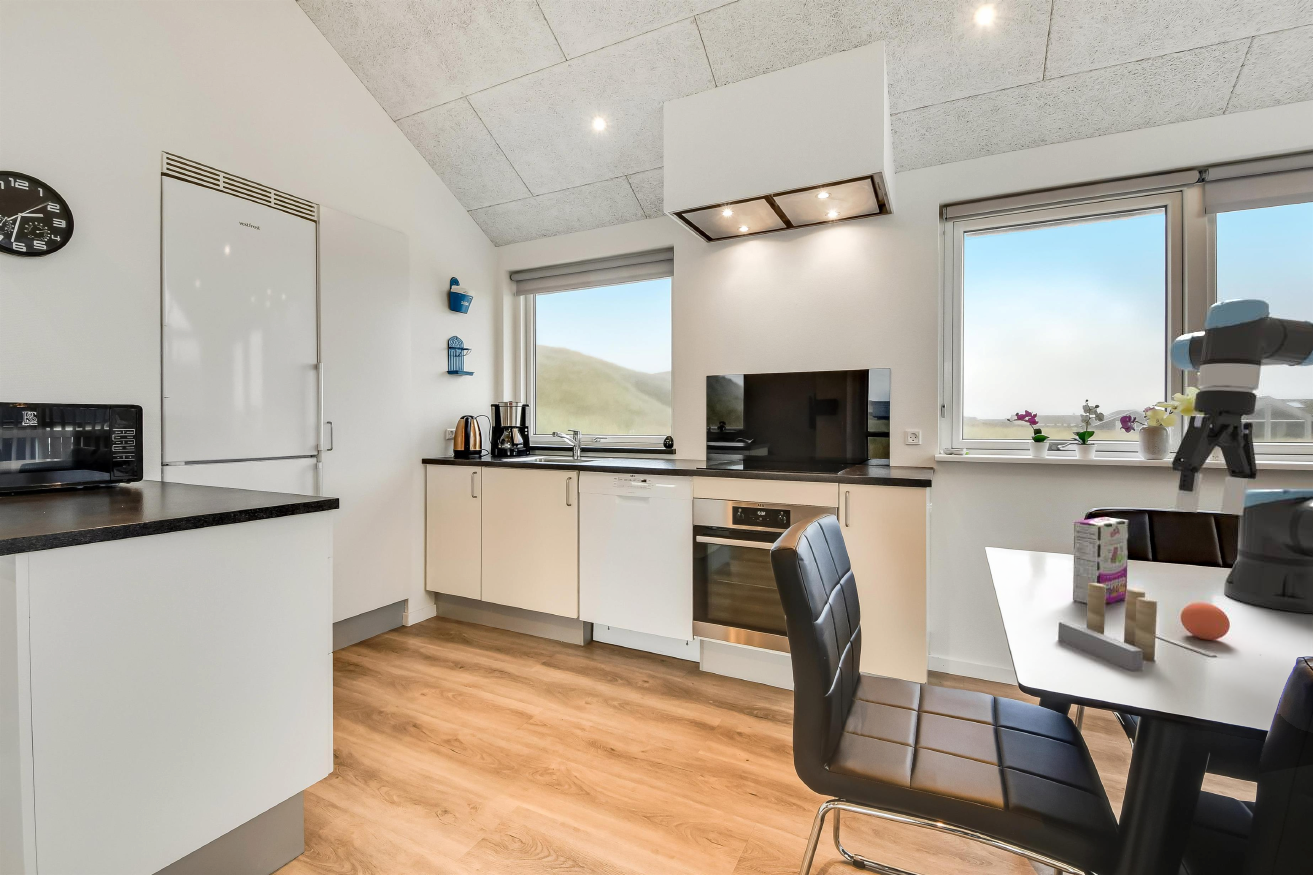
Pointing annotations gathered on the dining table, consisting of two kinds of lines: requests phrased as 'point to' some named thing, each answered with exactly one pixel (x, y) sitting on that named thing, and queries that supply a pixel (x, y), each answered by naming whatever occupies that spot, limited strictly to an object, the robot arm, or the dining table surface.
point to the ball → (1205, 621)
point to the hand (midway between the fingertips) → (1209, 512)
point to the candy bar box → (1100, 557)
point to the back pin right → (1096, 607)
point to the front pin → (1131, 614)
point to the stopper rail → (1101, 645)
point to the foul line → (1185, 646)
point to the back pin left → (1146, 627)
